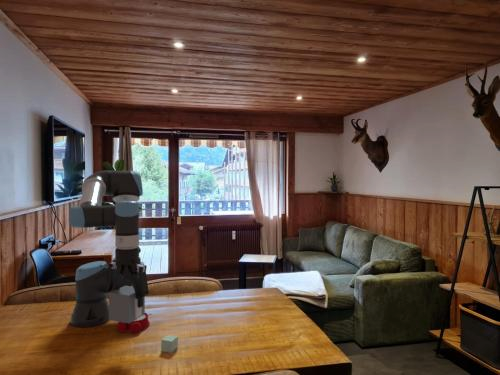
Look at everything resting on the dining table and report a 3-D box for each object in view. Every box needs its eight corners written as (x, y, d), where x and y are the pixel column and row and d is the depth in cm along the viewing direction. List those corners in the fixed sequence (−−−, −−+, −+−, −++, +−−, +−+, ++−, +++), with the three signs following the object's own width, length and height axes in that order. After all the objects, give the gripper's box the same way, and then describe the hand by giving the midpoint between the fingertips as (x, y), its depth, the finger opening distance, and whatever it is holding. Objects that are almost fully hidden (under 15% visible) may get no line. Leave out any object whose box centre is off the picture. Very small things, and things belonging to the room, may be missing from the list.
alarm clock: (155, 312, 139) (137, 318, 125) (153, 328, 138) (135, 336, 124) (132, 310, 141) (112, 316, 127) (130, 326, 140) (110, 333, 125)
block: (161, 351, 115) (161, 339, 115) (167, 345, 118) (167, 334, 118) (171, 353, 113) (171, 341, 113) (177, 347, 117) (177, 336, 117)
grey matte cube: (108, 319, 110) (108, 292, 110) (125, 311, 118) (125, 285, 118) (129, 323, 108) (129, 295, 108) (144, 314, 115) (144, 288, 115)
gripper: (94, 247, 112) (94, 314, 113) (146, 251, 106) (146, 323, 106) (110, 243, 119) (110, 307, 120) (160, 247, 113) (160, 314, 113)
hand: (127, 314), depth 113 cm, fingers closed on grey matte cube, 8 cm apart
